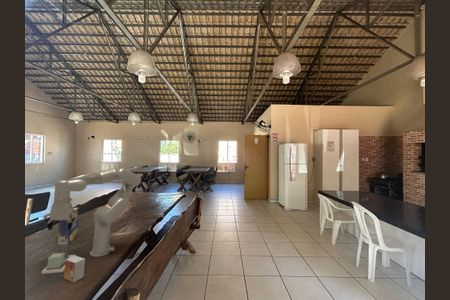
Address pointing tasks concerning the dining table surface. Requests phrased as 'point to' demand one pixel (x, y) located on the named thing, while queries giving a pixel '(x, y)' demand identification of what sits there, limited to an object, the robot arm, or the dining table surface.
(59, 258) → the green slotted box
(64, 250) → the post board
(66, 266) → the small box
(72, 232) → the juice carton
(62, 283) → the dining table surface
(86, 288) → the dining table surface
